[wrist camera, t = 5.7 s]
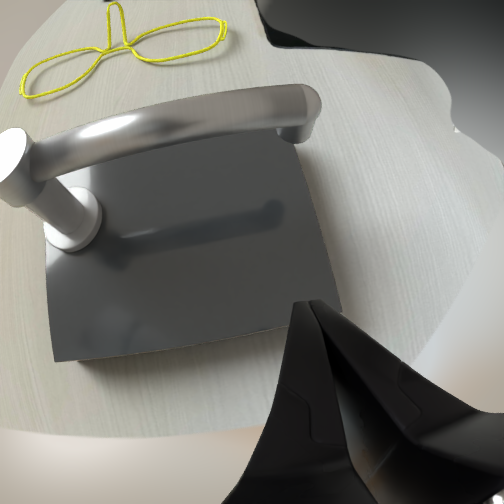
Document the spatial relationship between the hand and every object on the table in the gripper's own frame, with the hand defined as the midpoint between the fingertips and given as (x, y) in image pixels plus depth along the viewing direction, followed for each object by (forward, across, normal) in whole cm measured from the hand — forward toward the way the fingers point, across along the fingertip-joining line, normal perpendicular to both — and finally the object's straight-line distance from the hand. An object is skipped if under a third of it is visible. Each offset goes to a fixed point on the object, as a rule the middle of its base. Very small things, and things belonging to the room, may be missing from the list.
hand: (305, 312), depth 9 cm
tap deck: (+12, +6, +4) cm, 14 cm away
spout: (+8, +6, -3) cm, 11 cm away
